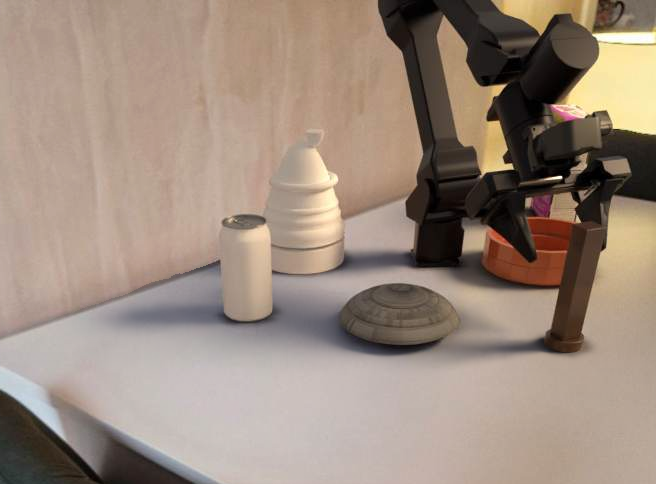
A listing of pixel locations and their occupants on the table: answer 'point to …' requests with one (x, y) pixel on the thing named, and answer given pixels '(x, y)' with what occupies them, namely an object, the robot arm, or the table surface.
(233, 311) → the can
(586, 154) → the candy bar box
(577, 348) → the stick
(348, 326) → the flying saucer
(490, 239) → the bowl
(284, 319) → the table surface
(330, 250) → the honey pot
